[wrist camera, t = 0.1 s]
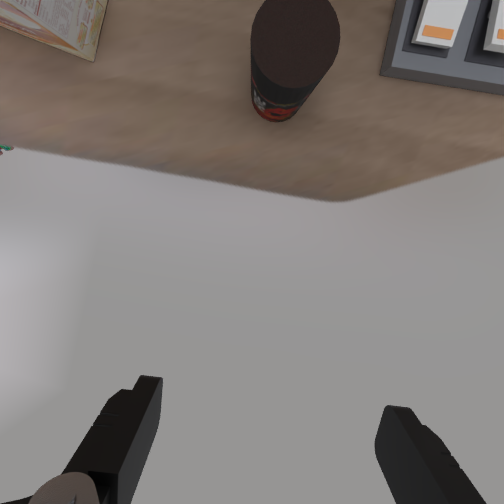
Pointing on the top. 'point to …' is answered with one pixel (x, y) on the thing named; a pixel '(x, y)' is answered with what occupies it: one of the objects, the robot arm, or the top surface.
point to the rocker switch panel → (444, 51)
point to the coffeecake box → (57, 23)
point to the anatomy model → (5, 148)
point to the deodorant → (290, 54)
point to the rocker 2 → (495, 28)
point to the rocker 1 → (439, 22)
